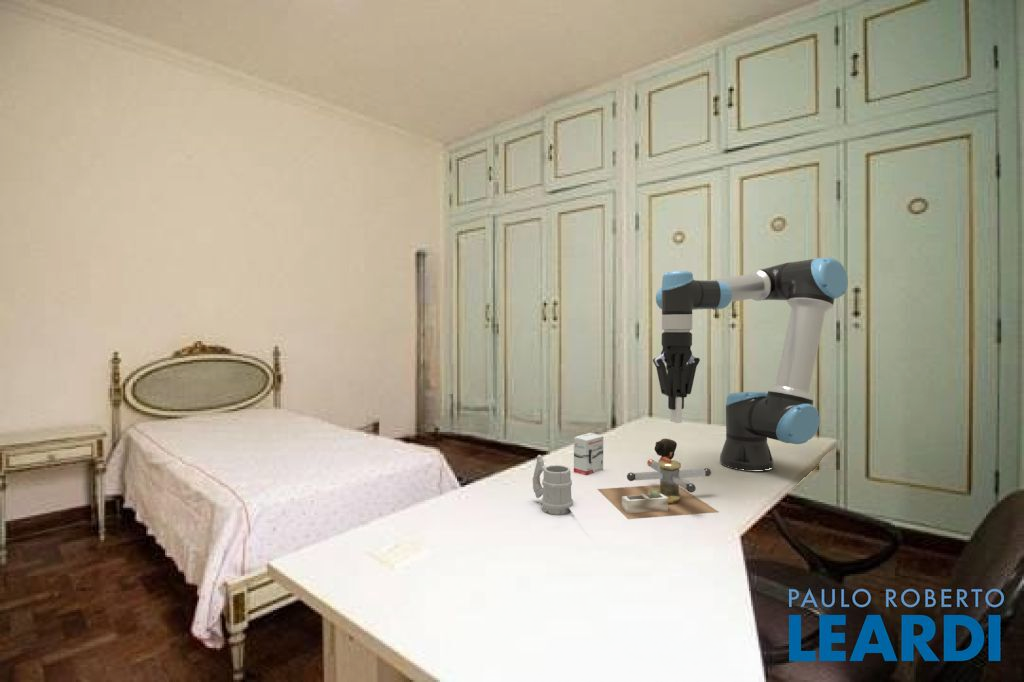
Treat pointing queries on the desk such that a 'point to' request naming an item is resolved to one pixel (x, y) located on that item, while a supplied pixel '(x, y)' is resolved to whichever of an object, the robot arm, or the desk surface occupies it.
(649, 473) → the capstan
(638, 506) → the stand
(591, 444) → the ink box
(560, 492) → the mug
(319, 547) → the desk surface
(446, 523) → the desk surface
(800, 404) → the robot arm
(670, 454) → the figurine
